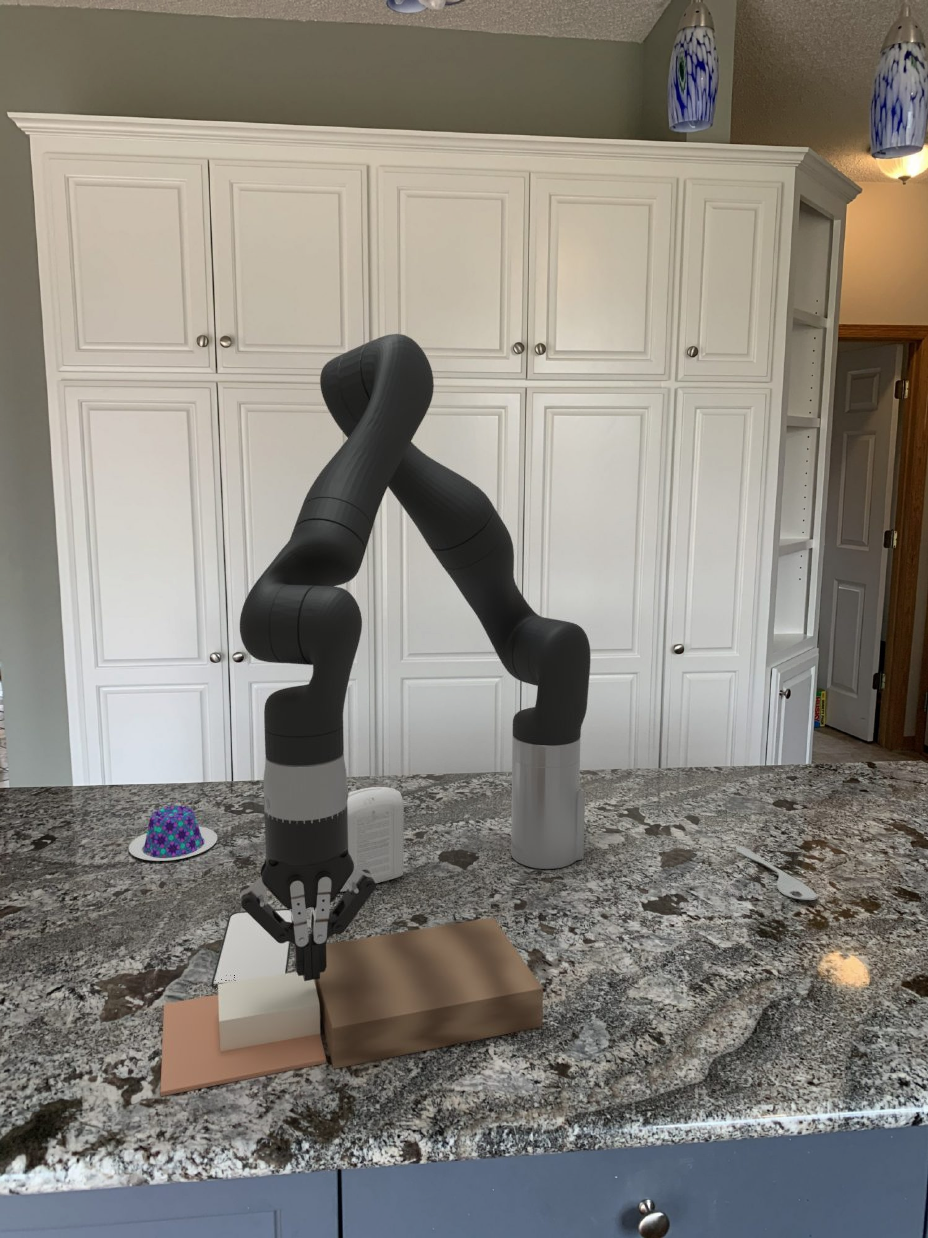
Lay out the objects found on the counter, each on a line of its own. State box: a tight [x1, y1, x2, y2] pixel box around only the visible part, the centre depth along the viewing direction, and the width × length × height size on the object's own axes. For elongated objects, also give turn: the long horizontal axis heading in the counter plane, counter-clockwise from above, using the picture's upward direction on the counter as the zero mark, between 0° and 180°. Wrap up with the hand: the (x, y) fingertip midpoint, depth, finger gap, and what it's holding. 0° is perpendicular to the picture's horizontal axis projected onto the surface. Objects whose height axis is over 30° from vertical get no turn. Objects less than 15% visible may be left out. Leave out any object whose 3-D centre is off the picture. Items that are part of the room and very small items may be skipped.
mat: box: [160, 994, 327, 1097], centre depth 81 cm, size 14×13×1 cm
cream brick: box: [217, 971, 321, 1051], centre depth 82 cm, size 9×6×3 cm, turn 107°
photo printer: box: [339, 786, 405, 893], centre depth 111 cm, size 10×4×12 cm, turn 123°
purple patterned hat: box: [128, 805, 218, 862], centre depth 123 cm, size 12×12×5 cm
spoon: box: [735, 845, 819, 901], centre depth 116 cm, size 4×21×2 cm, turn 11°
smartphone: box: [210, 908, 292, 991], centre depth 97 cm, size 8×1×16 cm
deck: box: [314, 917, 544, 1070], centre depth 86 cm, size 20×14×4 cm
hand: (310, 975), depth 82 cm, fingers closed
